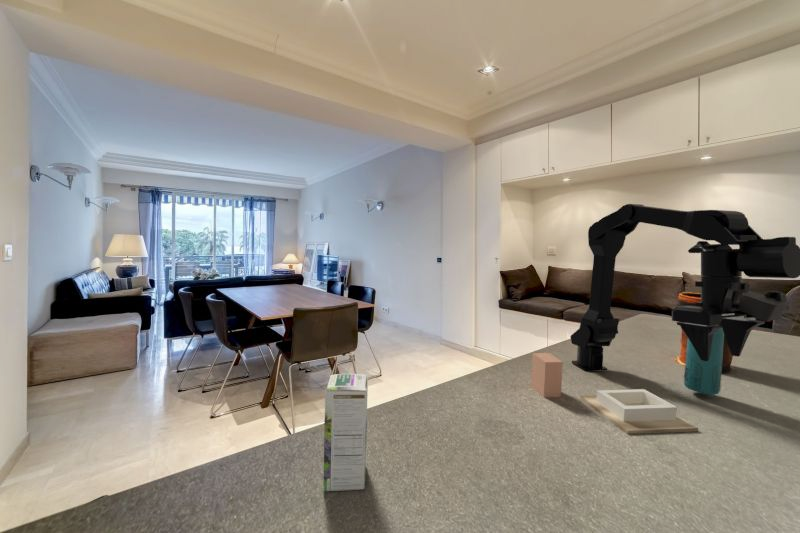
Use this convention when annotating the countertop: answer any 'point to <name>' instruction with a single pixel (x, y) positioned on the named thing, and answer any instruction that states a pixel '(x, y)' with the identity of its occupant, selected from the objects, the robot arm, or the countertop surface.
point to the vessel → (687, 300)
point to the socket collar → (648, 412)
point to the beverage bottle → (705, 367)
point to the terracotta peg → (546, 374)
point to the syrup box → (345, 432)
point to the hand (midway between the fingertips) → (720, 358)
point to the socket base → (641, 426)
